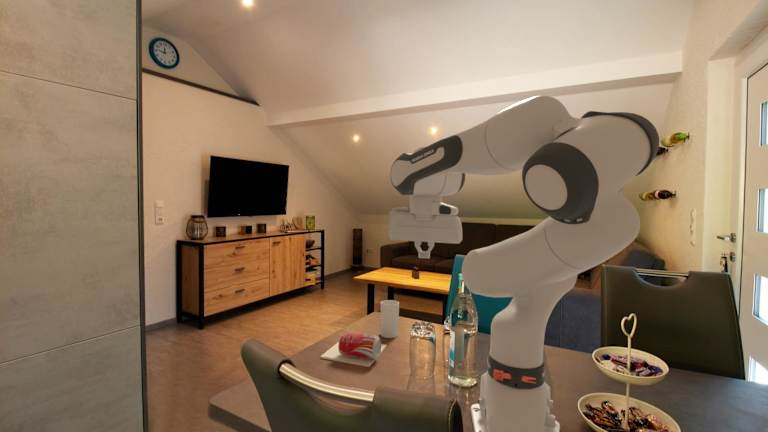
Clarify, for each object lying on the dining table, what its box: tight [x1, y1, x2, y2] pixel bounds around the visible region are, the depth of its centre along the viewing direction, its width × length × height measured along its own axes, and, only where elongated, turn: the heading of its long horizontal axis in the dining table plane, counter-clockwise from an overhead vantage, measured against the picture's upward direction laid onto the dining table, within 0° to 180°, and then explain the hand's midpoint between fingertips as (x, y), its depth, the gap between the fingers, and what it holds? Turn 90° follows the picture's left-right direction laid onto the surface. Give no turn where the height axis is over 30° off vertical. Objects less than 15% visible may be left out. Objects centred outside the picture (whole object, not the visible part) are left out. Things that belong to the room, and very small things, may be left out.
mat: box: [320, 341, 387, 368], centre depth 114 cm, size 16×16×1 cm
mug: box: [380, 299, 400, 339], centre depth 131 cm, size 10×7×12 cm, turn 160°
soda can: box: [338, 332, 382, 360], centre depth 109 cm, size 7×7×12 cm
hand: (424, 258), depth 98 cm, fingers closed
